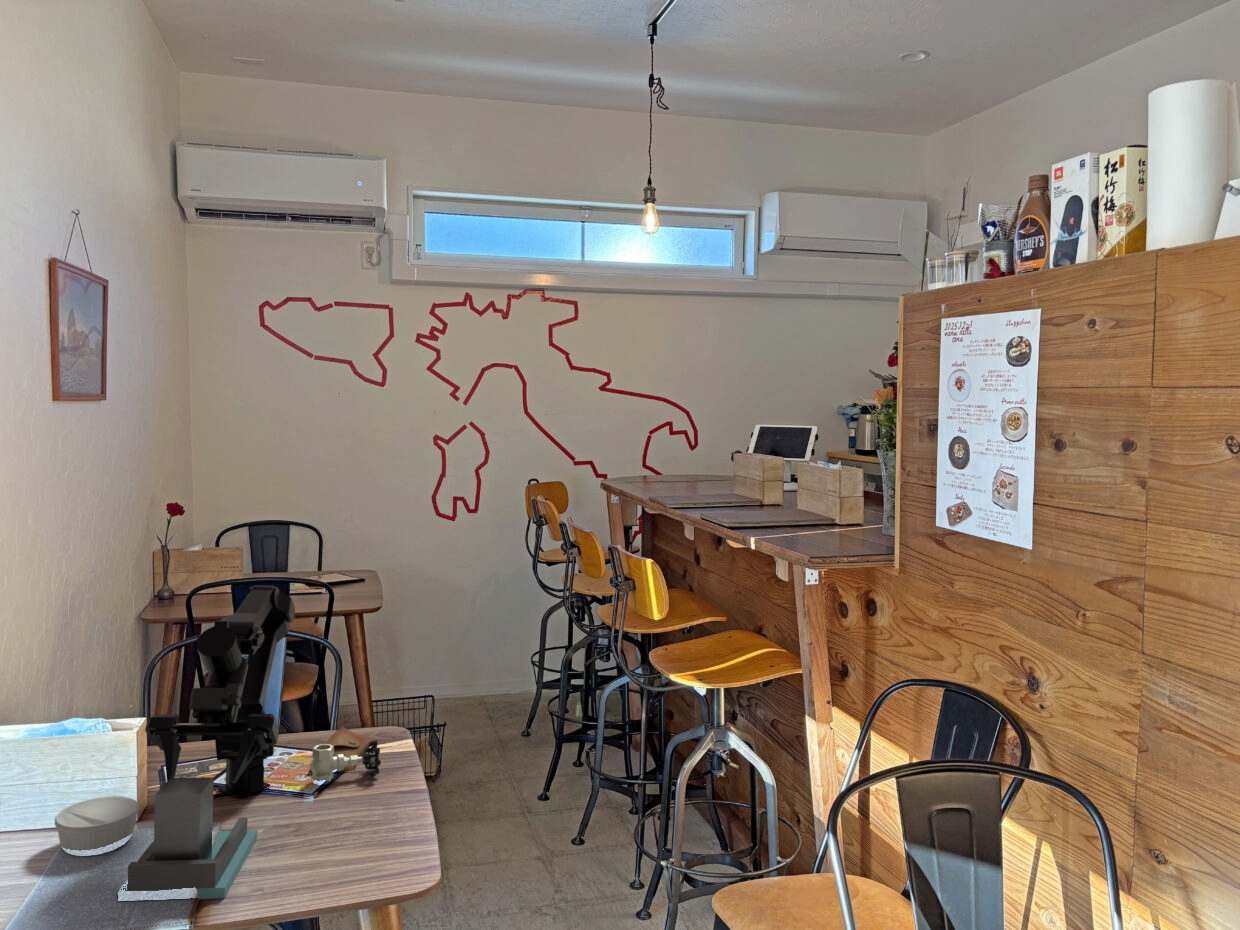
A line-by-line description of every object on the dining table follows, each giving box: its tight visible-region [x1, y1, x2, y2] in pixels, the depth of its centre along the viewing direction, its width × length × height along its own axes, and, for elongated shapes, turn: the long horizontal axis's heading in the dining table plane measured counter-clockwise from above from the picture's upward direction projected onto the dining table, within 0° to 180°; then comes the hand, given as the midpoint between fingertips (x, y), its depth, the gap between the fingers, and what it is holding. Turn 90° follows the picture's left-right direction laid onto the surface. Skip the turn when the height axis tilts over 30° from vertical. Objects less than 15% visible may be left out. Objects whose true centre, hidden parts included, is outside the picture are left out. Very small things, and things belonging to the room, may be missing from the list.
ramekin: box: [54, 795, 140, 851], centre depth 139 cm, size 11×11×5 cm
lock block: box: [153, 776, 215, 861], centre depth 128 cm, size 6×6×12 cm
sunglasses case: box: [324, 725, 374, 772], centre depth 179 cm, size 18×7×7 cm, turn 3°
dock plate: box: [117, 816, 258, 900], centre depth 133 cm, size 18×14×5 cm
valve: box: [310, 739, 382, 782], centre depth 168 cm, size 7×7×12 cm
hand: (201, 782), depth 136 cm, fingers open, 9 cm apart
